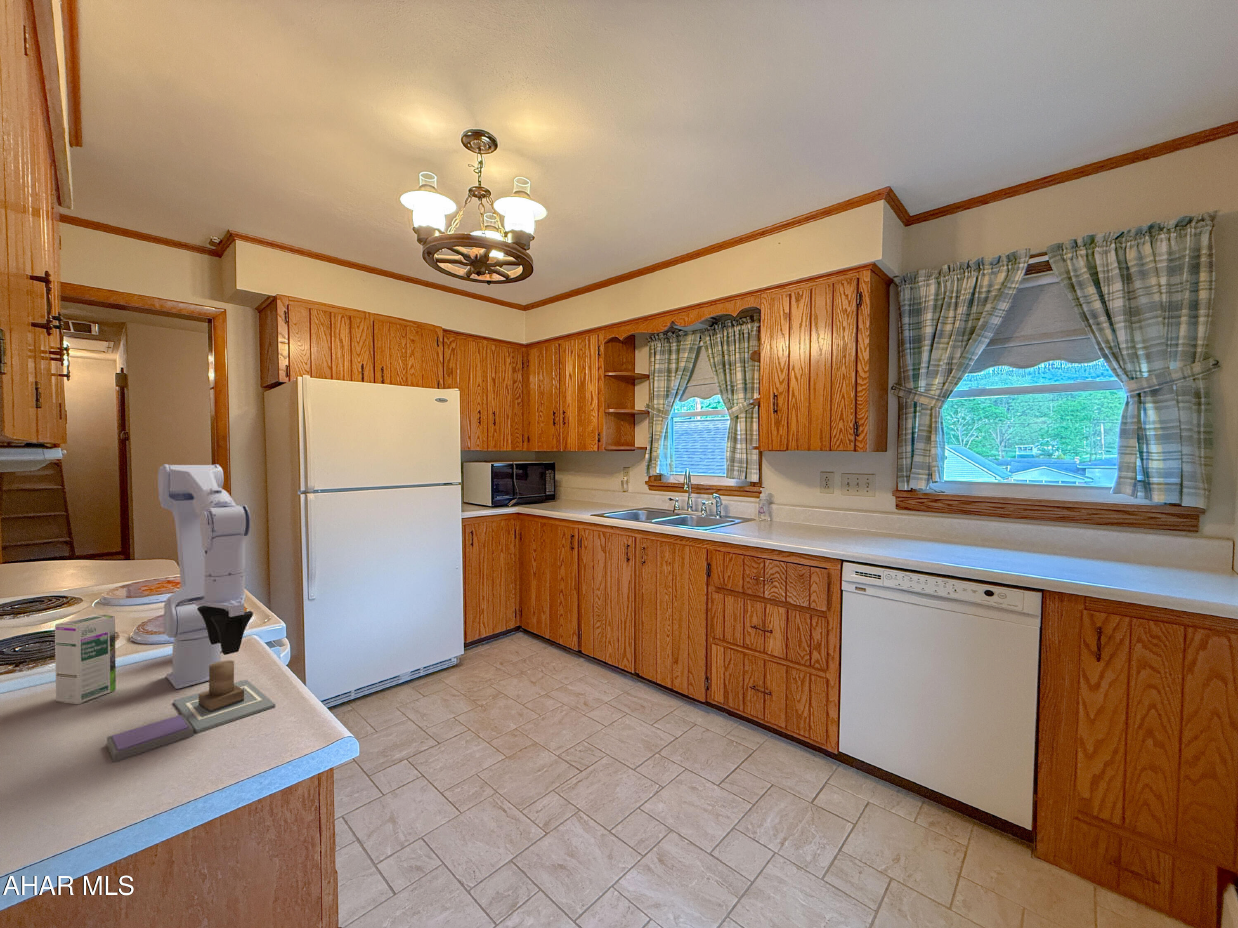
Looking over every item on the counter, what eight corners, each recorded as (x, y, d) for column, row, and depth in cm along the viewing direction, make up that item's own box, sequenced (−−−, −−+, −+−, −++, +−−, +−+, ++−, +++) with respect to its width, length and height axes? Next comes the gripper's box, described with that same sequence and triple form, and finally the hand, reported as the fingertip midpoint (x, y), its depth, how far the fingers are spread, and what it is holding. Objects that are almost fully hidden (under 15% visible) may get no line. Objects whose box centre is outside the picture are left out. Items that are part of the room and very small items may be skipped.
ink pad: (106, 744, 76) (106, 735, 76) (182, 720, 83) (182, 712, 83) (113, 761, 72) (113, 752, 72) (193, 735, 79) (193, 726, 79)
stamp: (198, 704, 88) (198, 665, 88) (231, 693, 92) (232, 656, 92) (210, 712, 85) (210, 672, 85) (244, 700, 90) (244, 662, 90)
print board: (173, 702, 90) (173, 699, 90) (246, 681, 98) (246, 678, 98) (196, 732, 80) (196, 729, 80) (275, 706, 89) (275, 703, 89)
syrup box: (78, 705, 88) (78, 624, 88) (53, 701, 90) (54, 622, 90) (116, 690, 94) (116, 615, 94) (92, 687, 95) (93, 613, 95)
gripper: (186, 570, 90) (185, 644, 90) (208, 583, 81) (207, 665, 81) (233, 564, 96) (232, 634, 96) (258, 575, 87) (258, 652, 87)
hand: (224, 647), depth 89 cm, fingers open, 7 cm apart
